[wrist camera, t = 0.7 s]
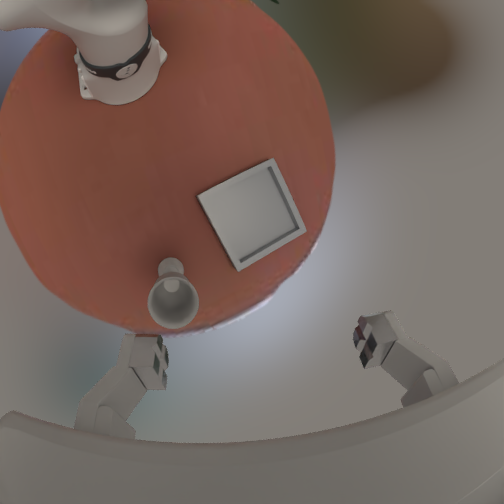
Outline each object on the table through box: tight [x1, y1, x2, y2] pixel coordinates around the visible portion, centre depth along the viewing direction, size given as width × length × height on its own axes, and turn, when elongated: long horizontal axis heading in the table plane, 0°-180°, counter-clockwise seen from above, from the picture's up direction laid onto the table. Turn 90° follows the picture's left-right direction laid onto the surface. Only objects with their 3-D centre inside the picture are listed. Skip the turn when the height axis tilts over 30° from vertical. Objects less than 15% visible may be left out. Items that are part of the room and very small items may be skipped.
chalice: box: [148, 258, 199, 329], centre depth 43 cm, size 7×7×18 cm
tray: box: [196, 158, 307, 272], centre depth 53 cm, size 16×16×3 cm
